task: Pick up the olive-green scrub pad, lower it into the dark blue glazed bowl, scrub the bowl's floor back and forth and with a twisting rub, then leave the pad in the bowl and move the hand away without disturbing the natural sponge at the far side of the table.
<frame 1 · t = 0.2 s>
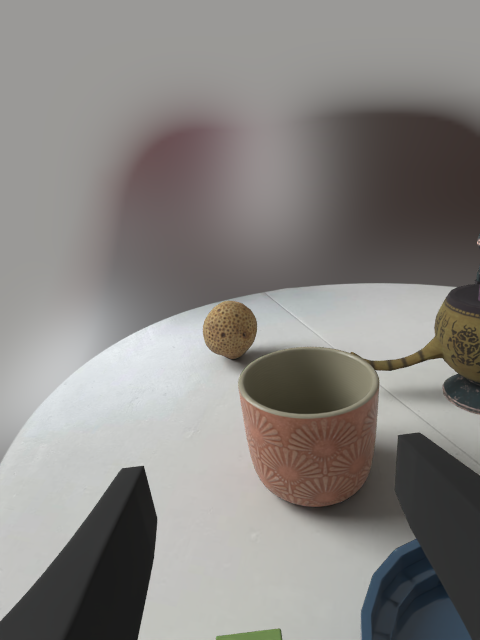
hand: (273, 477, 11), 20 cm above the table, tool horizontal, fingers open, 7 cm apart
teapot: (451, 395, 48), on the table
planter: (311, 472, 38), on the table
natural sponge: (233, 360, 64), on the table
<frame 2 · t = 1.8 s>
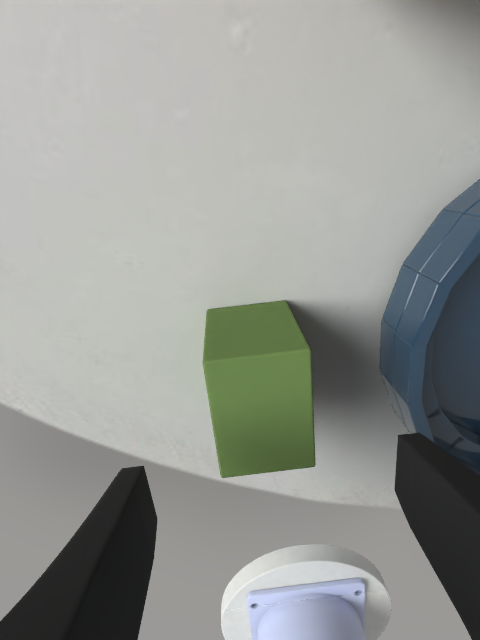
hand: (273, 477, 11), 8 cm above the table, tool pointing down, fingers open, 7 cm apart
scrub pad: (251, 353, 18), on the table
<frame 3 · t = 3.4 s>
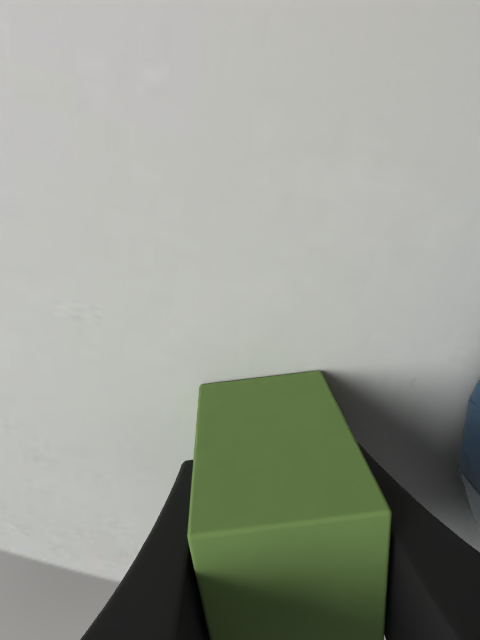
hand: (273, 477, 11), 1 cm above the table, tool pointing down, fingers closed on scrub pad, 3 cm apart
scrub pad: (266, 444, 12), on the table, touching gripper
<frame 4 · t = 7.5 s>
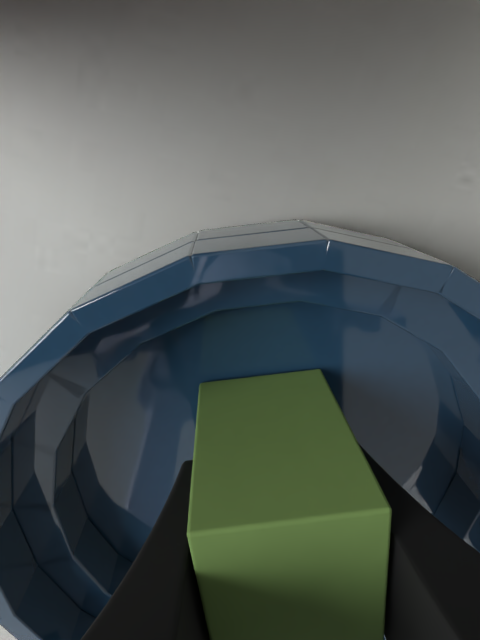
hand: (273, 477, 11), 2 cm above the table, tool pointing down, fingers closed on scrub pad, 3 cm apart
scrub pad: (266, 442, 12), point 1 cm above the table, touching gripper
bowl: (268, 457, 13), on the table
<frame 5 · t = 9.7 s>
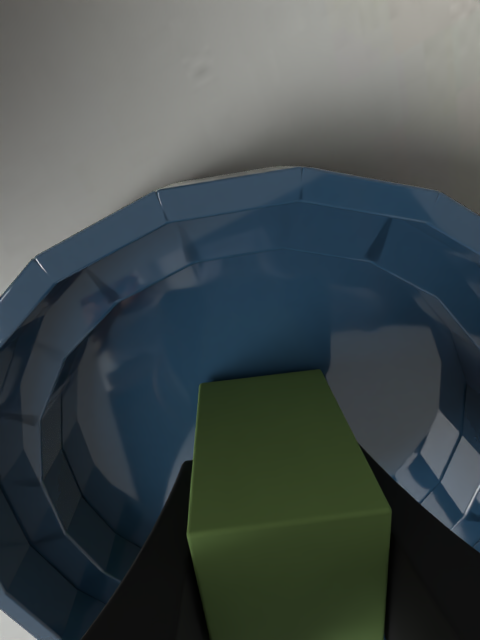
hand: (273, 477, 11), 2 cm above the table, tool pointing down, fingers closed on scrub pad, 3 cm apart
scrub pad: (266, 443, 12), point 1 cm above the table, touching gripper
bowl: (264, 428, 13), on the table
when the fingers open (2 cm above the table, at t = 11.6 s): scrub pad stays where it is, resting on bowl.
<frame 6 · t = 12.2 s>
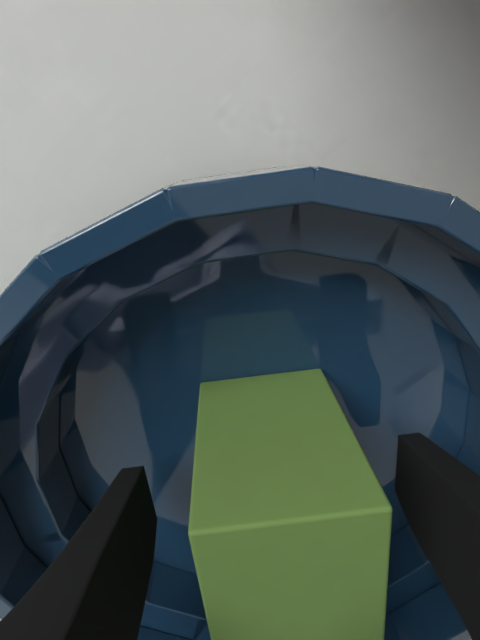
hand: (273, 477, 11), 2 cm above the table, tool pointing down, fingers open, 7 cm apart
scrub pad: (267, 442, 12), point 1 cm above the table, touching bowl
bowl: (265, 431, 13), on the table, touching scrub pad
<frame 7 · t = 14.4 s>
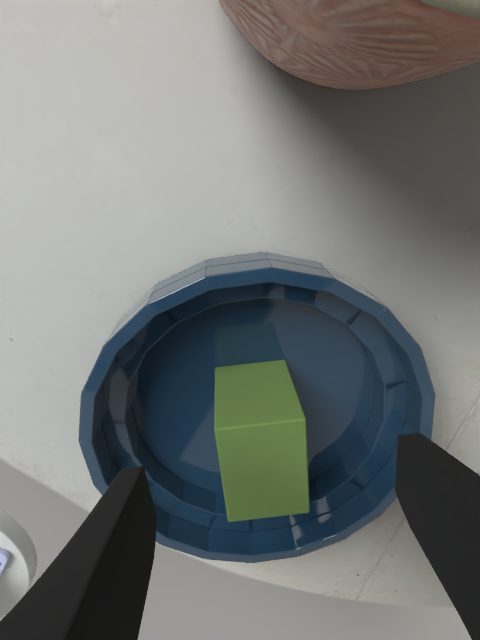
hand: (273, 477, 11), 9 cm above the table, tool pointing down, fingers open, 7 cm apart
scrub pad: (254, 403, 20), point 1 cm above the table, touching bowl
bowl: (253, 398, 21), on the table, touching scrub pad
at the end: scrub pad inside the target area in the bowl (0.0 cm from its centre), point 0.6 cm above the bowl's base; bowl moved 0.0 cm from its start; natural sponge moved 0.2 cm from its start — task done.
